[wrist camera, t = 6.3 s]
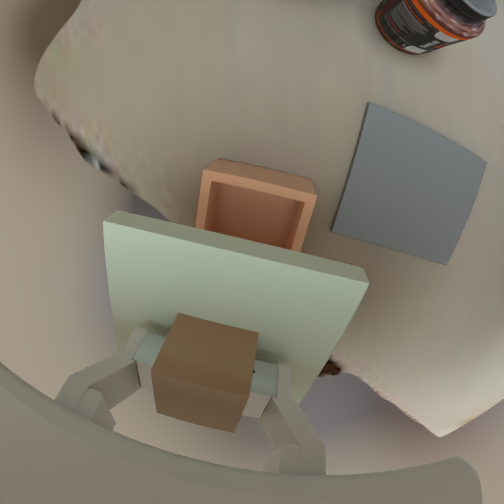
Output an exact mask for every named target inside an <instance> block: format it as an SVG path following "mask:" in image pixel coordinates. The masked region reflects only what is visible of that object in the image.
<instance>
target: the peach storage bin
mask: <svg viewBox="0 0 504 504" xmlns="http://www.w3.org/2000/svg"><path fill="white" fill-rule="evenodd" d="M316 199H317V193H316V190H315V188H314V185H313V183H312V180H311V179H308V178H304V177H300V176H296V175H292V174H288V173H284V172H280V171H276V170H272V169H267V168H263V167H259V166H254V165H249V164H245V163H240V162H235V161H230V160H225V159H220V158H219V159H218V160H216V161H215V162H213V163H212V164H210V165H209V166H207V167H206V168H205V169H203V174H202V180H201V187H200V194H199V201H198V209H197V216H196V224H195V228H199V229H203V230H207V231H212V232H216V233H220V234H225V235H229V236H233V237H238V238H242V239H246V240H251V241H255V242H259V243H263V244H268V245H272V246H276V247H280V248H284V249H289V250H293V251H297V252H300V251H301V248H302V244H303V241H304V238H305V235H306V232H307V229H308V225H309V222H310V219H311V216H312V212H313V209H314V206H315V202H316Z"/></svg>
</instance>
